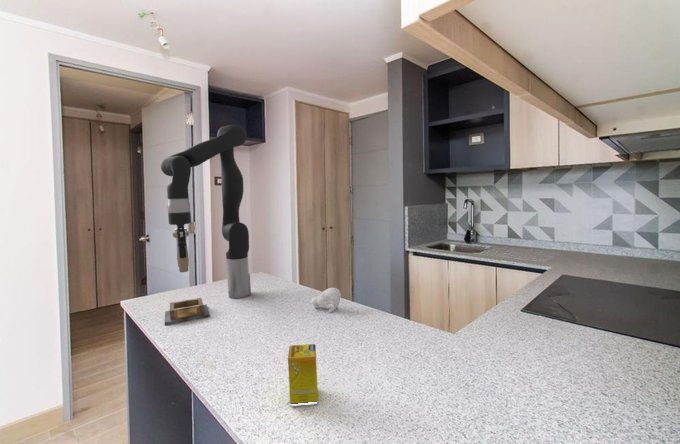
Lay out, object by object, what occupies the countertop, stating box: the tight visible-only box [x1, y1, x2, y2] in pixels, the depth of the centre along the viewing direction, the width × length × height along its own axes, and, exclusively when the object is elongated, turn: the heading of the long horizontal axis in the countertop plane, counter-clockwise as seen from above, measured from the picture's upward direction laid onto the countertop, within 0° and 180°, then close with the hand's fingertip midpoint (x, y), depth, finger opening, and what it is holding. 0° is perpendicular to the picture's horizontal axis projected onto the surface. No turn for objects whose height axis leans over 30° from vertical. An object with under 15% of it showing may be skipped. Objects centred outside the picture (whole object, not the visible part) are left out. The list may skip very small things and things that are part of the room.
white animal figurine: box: [311, 287, 342, 313], centre depth 127 cm, size 6×8×12 cm
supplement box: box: [287, 343, 319, 404], centre depth 72 cm, size 6×6×11 cm
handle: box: [172, 230, 190, 273], centre depth 123 cm, size 5×6×15 cm
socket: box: [164, 297, 211, 326], centre depth 125 cm, size 15×13×4 cm
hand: (182, 256), depth 123 cm, fingers closed on handle, 4 cm apart
